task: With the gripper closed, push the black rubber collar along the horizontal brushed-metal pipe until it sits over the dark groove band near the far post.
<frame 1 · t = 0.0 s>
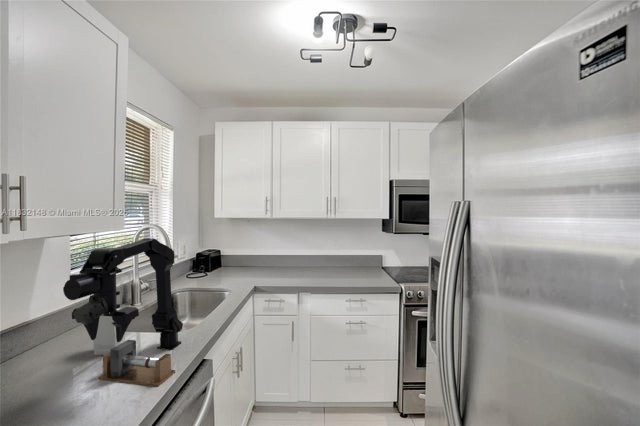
hand: (106, 340, 92), 15 cm above the counter, fingers open, 9 cm apart
pipe rig: (137, 376, 99), on the counter
skincare box: (109, 351, 116), on the counter
collar: (123, 357, 100), point 6 cm above the counter, slide at 0.0 cm
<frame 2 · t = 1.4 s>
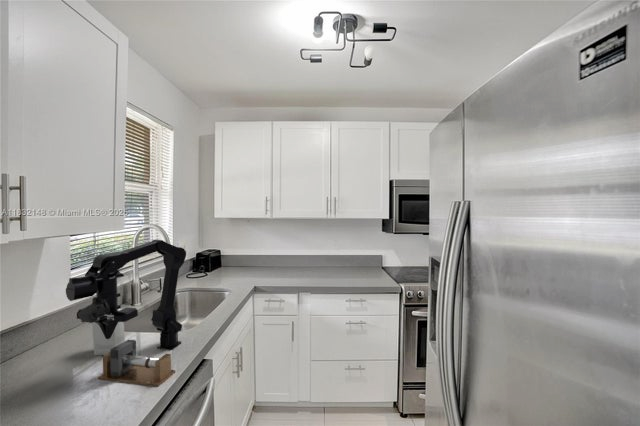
hand: (108, 338, 101), 12 cm above the counter, fingers closed
nothing on the counter moved.
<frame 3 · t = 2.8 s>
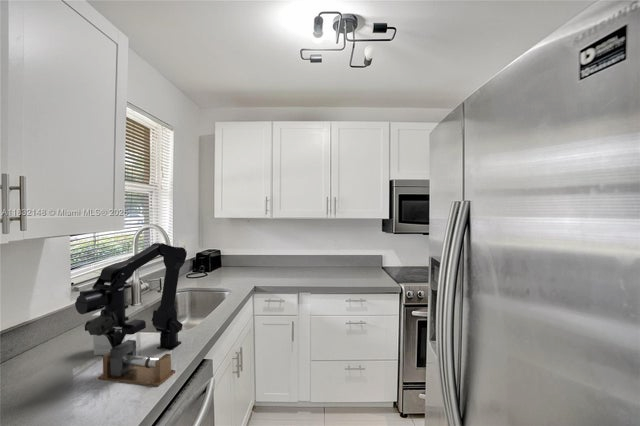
hand: (116, 350, 101), 8 cm above the counter, fingers closed
collar: (123, 357, 100), point 6 cm above the counter, slide at 0.0 cm, touching gripper
everything else where it was.
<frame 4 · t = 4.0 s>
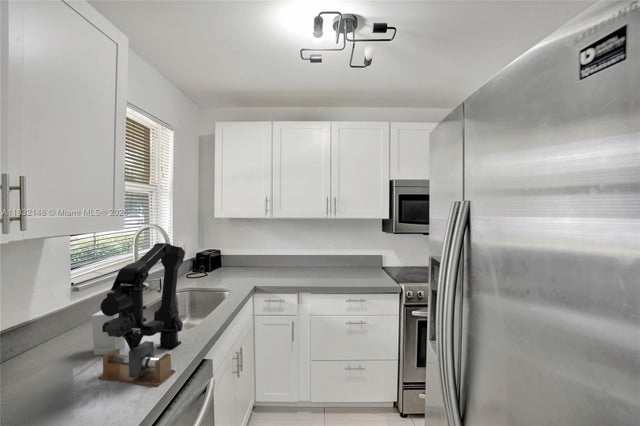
hand: (133, 352, 99), 8 cm above the counter, fingers closed
collar: (141, 359, 99), point 6 cm above the counter, slide at 6.8 cm, touching gripper
everything else where it was.
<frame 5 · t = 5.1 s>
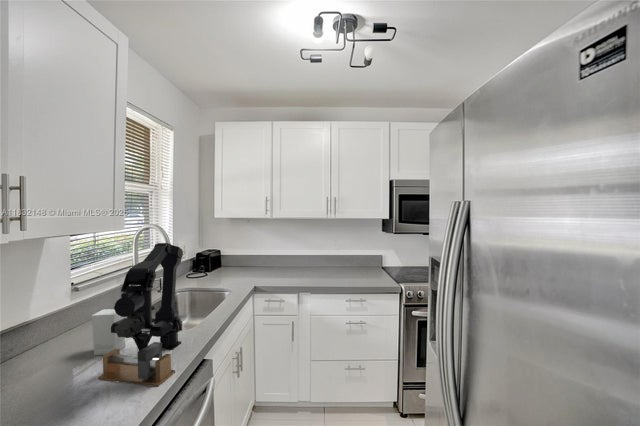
hand: (142, 353, 99), 8 cm above the counter, fingers closed
collar: (150, 359, 98), point 6 cm above the counter, slide at 10.1 cm, touching gripper
everything else where it was.
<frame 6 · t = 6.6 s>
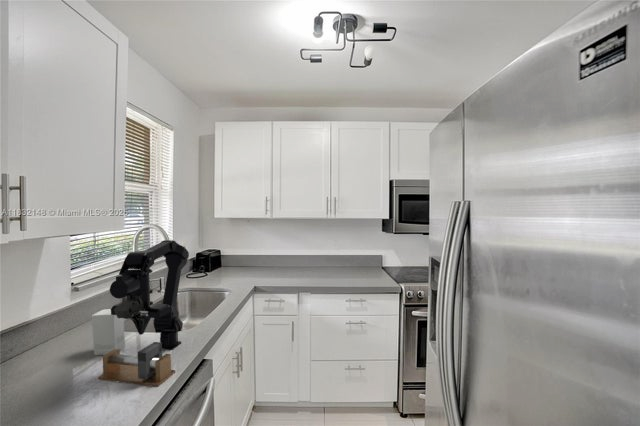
hand: (141, 334, 103), 12 cm above the counter, fingers closed
collar: (150, 359, 98), point 6 cm above the counter, slide at 10.1 cm
everything else where it was.
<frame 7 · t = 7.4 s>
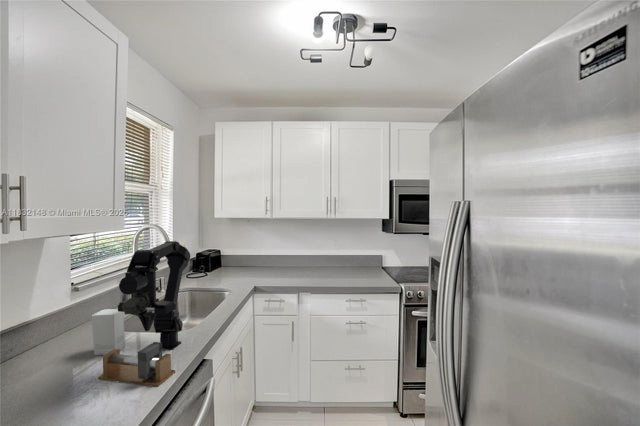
hand: (147, 330, 105), 13 cm above the counter, fingers closed
nothing on the counter moved.
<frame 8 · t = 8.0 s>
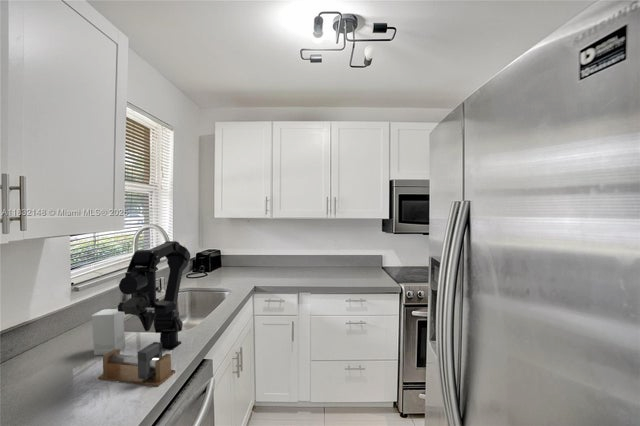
hand: (147, 330, 105), 13 cm above the counter, fingers closed
nothing on the counter moved.
at the end: collar slide at 10.1 cm; collar touching nothing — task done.
